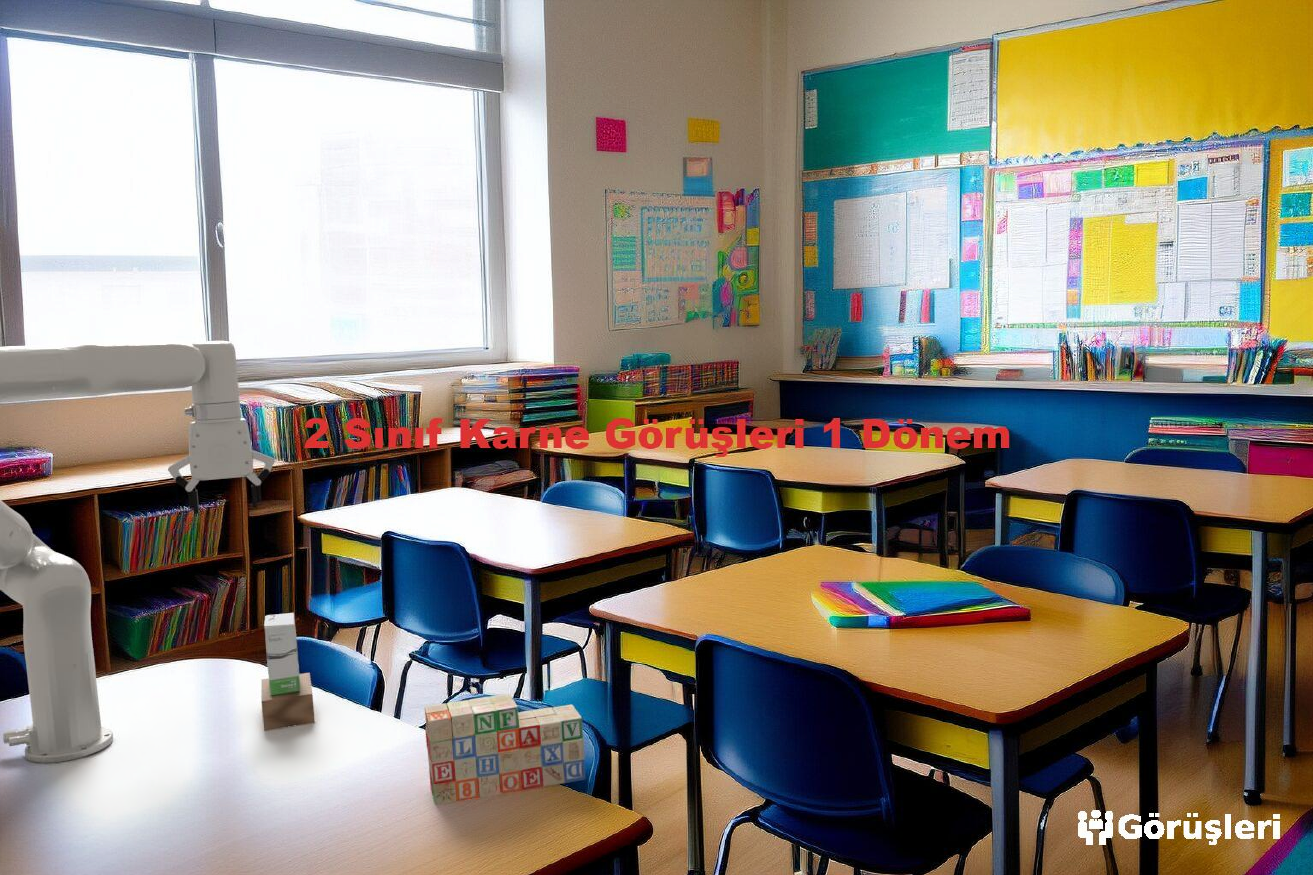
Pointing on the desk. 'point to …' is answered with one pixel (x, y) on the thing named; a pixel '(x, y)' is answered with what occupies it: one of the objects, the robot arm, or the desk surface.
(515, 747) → the stack of blocks
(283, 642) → the ink box
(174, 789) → the desk surface
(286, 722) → the walnut block
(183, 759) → the desk surface
